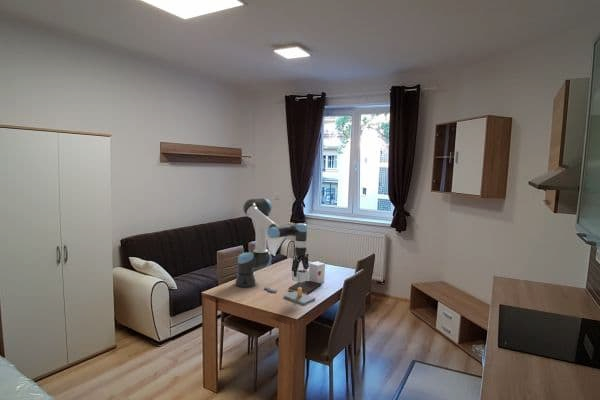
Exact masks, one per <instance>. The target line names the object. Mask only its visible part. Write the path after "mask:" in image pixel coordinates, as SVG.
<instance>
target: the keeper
mask: <svg viewBox="0 0 600 400" xmlns="http://www.w3.org/2000/svg"><path fill="white" fill-rule="evenodd" d="M283 299H285V300H289V301H292V302H295V303H298V304H299V305H303V306H306V305H307V304H309V303H311V302H314V301H316V297H313V296H311V295H309V294H308V295H306V294H302V288H300V287H299V288H298V289H297V292H296V291H295V292H293V291H291V292H290V293H287V294H285V295H283Z"/></svg>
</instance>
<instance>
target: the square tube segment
mask: <svg viewBox="0 0 600 400" xmlns="http://www.w3.org/2000/svg"><path fill="white" fill-rule="evenodd" d="M297 272H298V282H304V281H309V270H307V271H306V270H303V268H298V270H297ZM291 280H292V281H294V271H292V270H291ZM298 282H297V283H298Z"/></svg>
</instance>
